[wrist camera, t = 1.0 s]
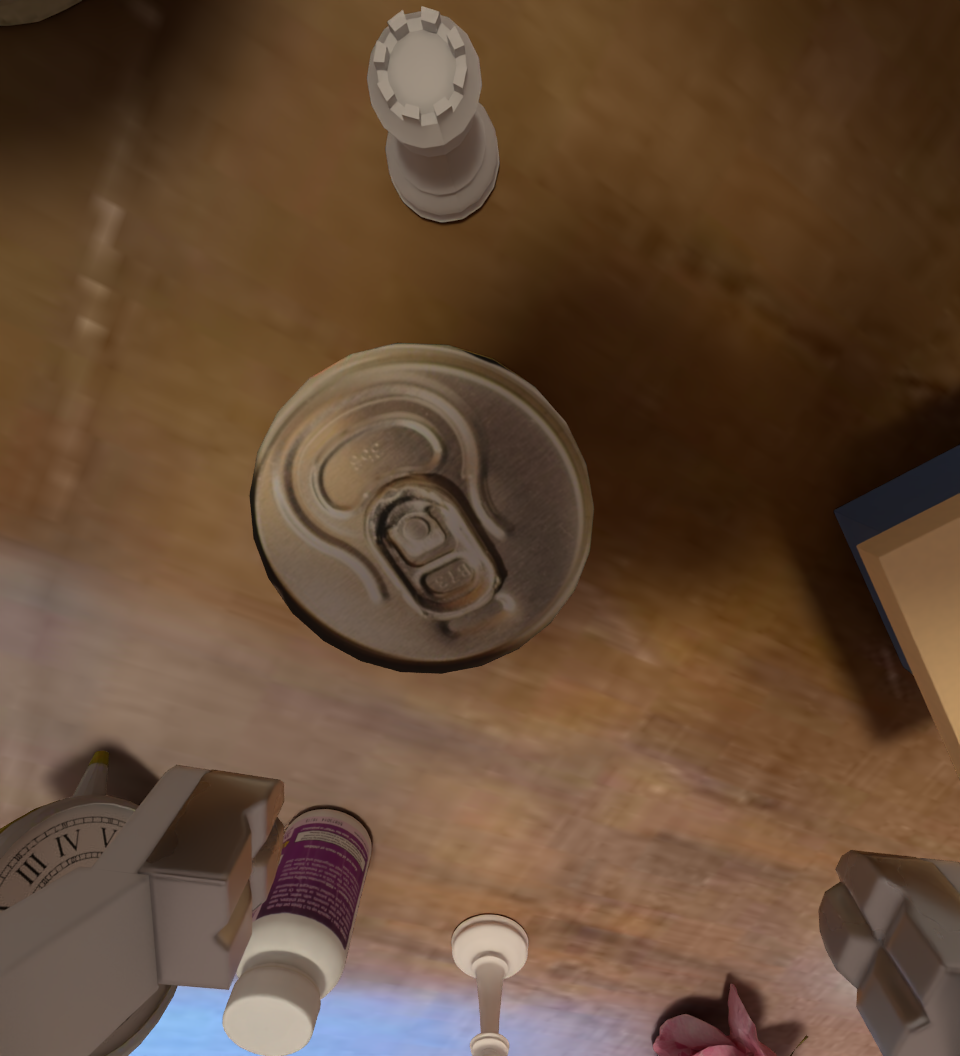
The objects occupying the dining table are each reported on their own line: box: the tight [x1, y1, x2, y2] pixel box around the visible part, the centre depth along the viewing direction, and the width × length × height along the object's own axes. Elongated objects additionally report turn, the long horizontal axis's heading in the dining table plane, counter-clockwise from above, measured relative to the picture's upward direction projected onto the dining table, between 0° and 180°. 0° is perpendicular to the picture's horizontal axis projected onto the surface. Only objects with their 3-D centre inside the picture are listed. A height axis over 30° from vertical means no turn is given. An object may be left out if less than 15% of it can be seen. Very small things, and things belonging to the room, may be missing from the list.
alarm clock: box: [0, 751, 178, 1056], centre depth 26 cm, size 12×7×15 cm, turn 33°
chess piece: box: [451, 915, 528, 1056], centre depth 31 cm, size 5×5×10 cm
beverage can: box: [250, 343, 594, 674], centre depth 20 cm, size 9×9×12 cm
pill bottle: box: [223, 809, 372, 1056], centre depth 28 cm, size 5×5×10 cm
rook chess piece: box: [367, 6, 500, 223], centre depth 19 cm, size 4×4×8 cm
